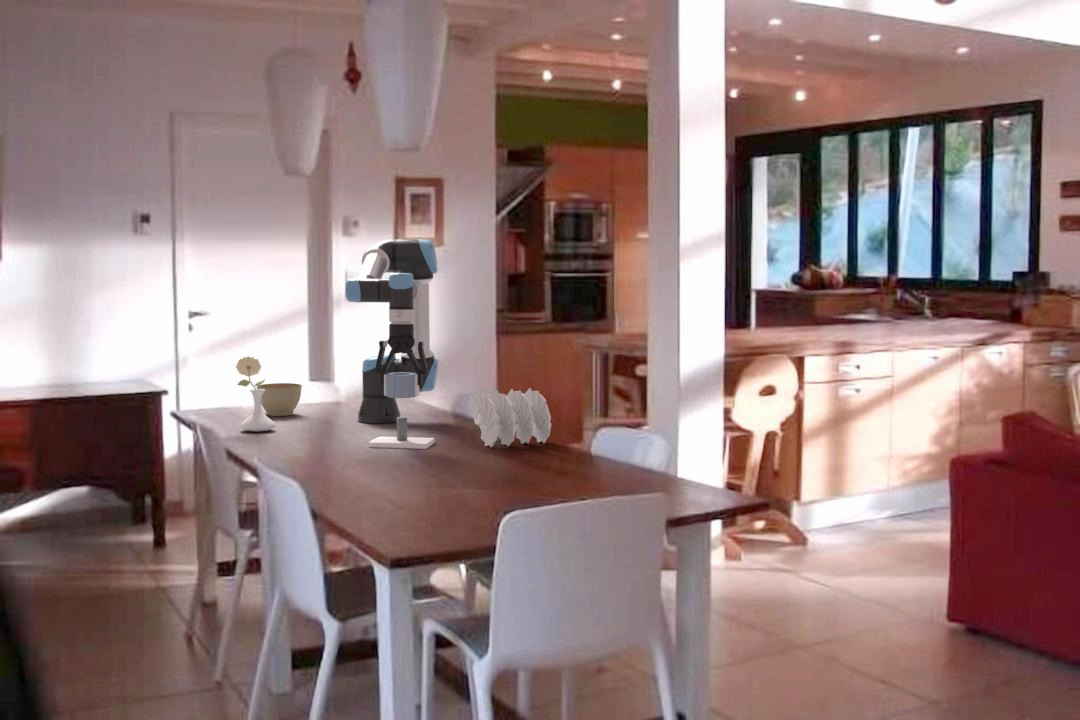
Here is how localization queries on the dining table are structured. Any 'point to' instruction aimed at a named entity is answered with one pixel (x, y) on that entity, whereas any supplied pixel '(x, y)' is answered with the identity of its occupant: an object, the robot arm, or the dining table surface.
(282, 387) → the planter bowl
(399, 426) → the post stand
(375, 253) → the robot arm
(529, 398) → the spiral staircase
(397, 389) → the hub ring
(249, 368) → the flower in vase
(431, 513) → the dining table surface
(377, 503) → the dining table surface
